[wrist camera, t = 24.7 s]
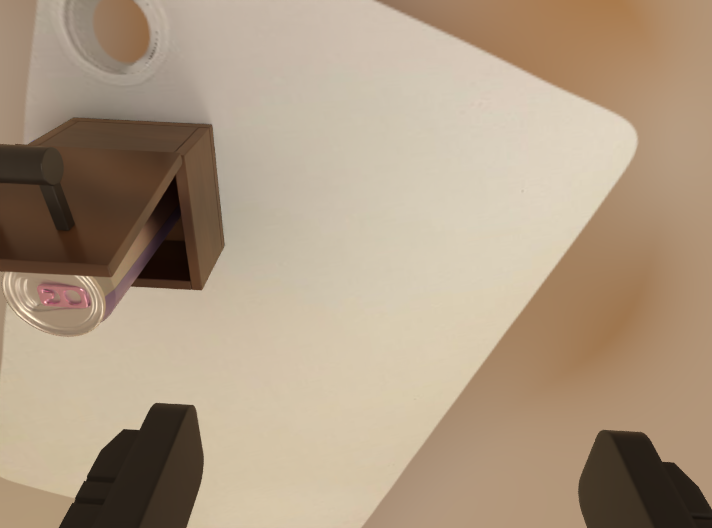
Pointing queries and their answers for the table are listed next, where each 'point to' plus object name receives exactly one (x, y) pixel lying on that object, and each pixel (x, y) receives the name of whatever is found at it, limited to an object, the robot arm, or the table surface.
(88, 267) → the lid
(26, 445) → the table surface
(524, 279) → the table surface
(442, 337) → the table surface
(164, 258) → the chest
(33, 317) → the beverage can
